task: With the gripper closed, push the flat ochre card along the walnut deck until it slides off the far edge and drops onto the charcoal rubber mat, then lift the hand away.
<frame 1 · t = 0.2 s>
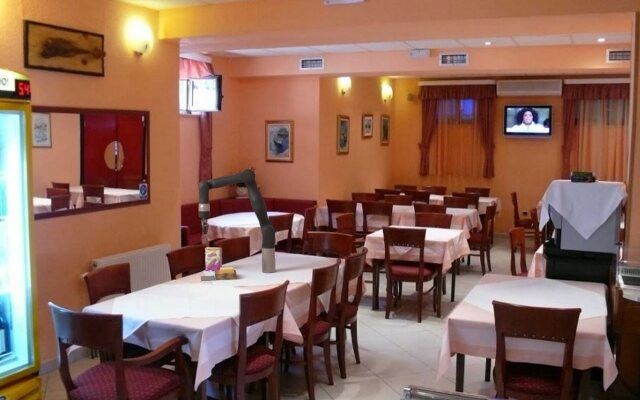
hand: (204, 233, 433), 29 cm above the table, tool pointing down, fingers open, 8 cm apart
candy bar box: (213, 270, 449), on the table
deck: (225, 277, 425), on the table
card: (226, 271, 425), point 4 cm above the table, touching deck
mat: (207, 278, 423), on the table
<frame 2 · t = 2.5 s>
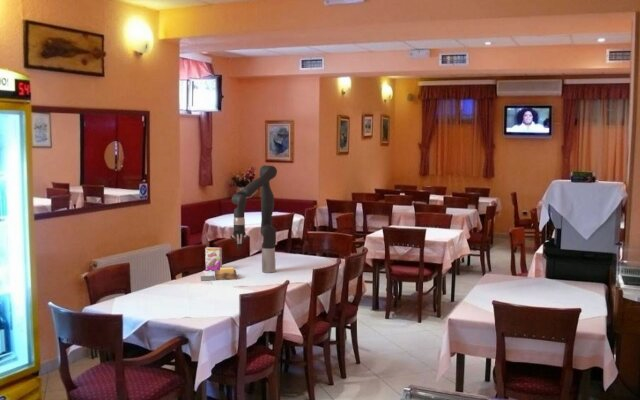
hand: (239, 249, 426), 19 cm above the table, tool pointing down, fingers closed
nothing on the table moved.
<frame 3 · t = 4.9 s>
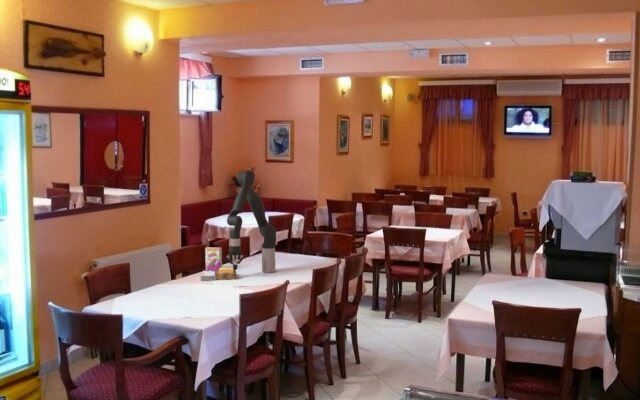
hand: (235, 270, 426), 5 cm above the table, tool pointing down, fingers closed
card: (226, 271, 425), point 4 cm above the table, touching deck, gripper
everything else where it was.
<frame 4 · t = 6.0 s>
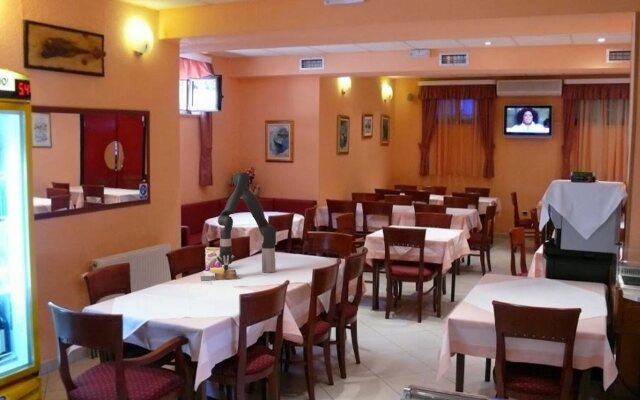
hand: (226, 270, 425), 5 cm above the table, tool pointing down, fingers closed
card: (217, 272, 424), point 4 cm above the table, touching gripper
everything else where it was.
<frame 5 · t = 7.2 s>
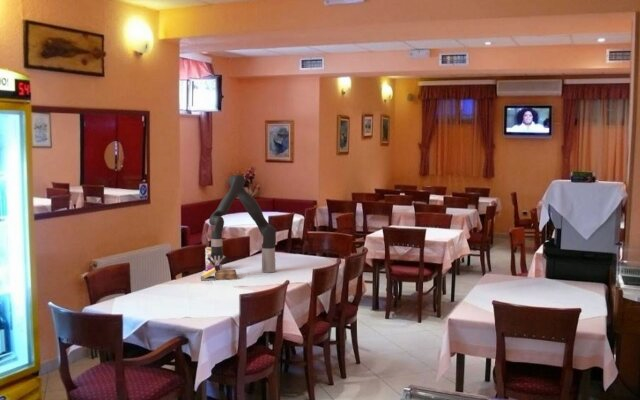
hand: (217, 270, 424), 5 cm above the table, tool pointing down, fingers closed
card: (210, 274, 424), point 2 cm above the table, tilted 28°, touching gripper, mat
everything else where it was.
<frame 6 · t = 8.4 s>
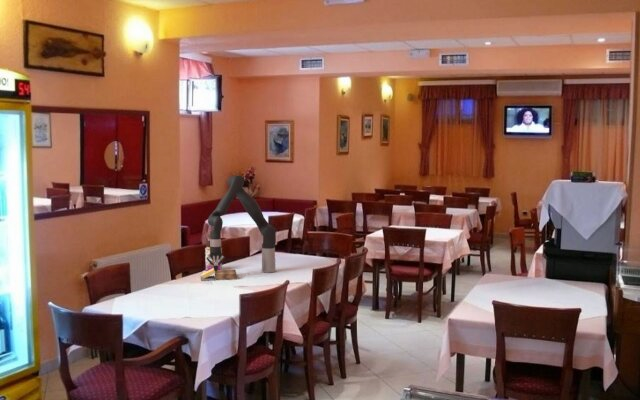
hand: (215, 270, 424), 5 cm above the table, tool pointing down, fingers closed
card: (209, 274, 424), point 2 cm above the table, tilted 25°, touching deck, gripper, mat
everything else where it was.
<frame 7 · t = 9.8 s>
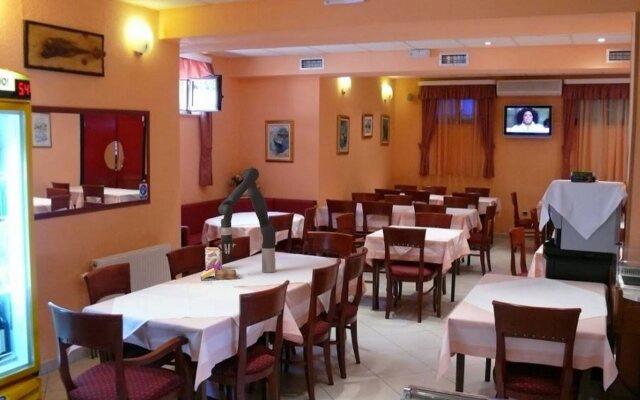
hand: (227, 258, 426), 13 cm above the table, tool pointing down, fingers closed
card: (209, 274, 424), point 2 cm above the table, tilted 25°, touching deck, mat
everything else where it was.
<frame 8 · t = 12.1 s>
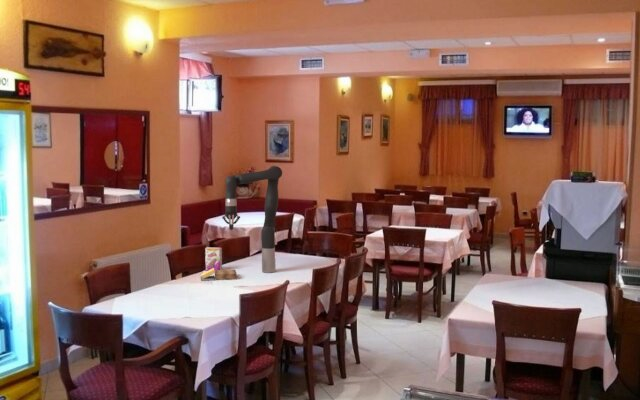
hand: (231, 229, 435), 31 cm above the table, tool pointing down, fingers closed
nothing on the table moved.
at the end: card point 2.2 cm above the table; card inside the target area on the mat (1.6 cm from its centre), point 2.2 cm above the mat's base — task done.
